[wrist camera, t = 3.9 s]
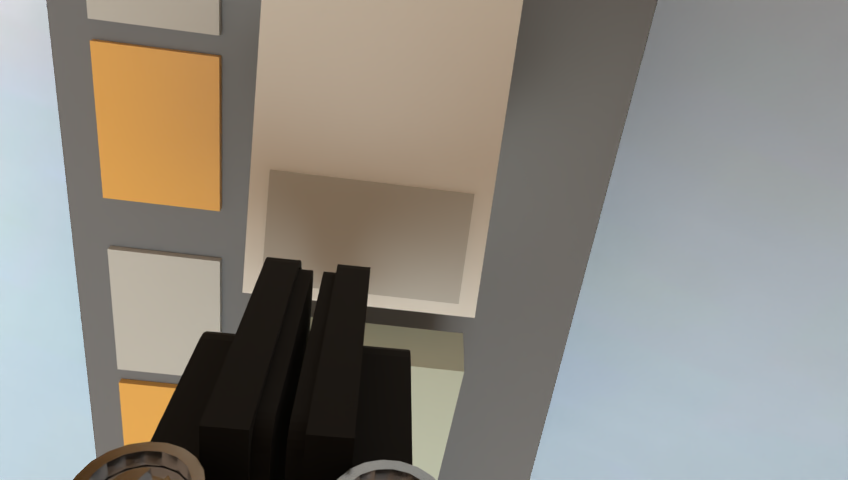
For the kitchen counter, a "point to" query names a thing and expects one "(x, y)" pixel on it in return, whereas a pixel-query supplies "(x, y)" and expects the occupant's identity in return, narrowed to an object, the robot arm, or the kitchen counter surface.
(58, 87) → the switch unit
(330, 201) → the rocker offwhite
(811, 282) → the kitchen counter surface
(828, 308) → the kitchen counter surface
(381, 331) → the block
